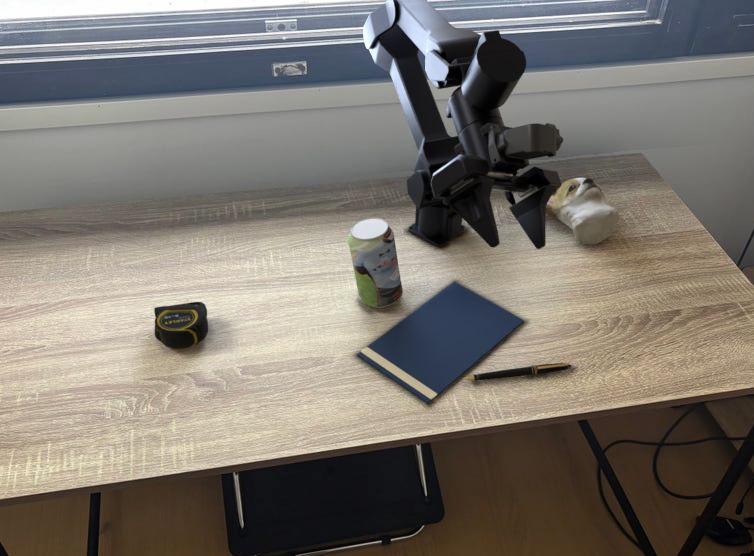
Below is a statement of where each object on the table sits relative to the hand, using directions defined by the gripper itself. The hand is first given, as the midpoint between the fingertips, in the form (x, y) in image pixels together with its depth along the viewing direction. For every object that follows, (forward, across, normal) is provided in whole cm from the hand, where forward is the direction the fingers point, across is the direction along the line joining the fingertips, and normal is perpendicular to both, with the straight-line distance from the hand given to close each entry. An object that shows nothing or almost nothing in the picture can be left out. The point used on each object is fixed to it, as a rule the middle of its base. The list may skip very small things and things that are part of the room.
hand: (519, 246), depth 87 cm
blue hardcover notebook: (+6, -1, +15) cm, 17 cm away
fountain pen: (+14, +2, +8) cm, 16 cm away
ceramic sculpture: (-8, +30, +8) cm, 32 cm away
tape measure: (-4, -25, +38) cm, 45 cm away
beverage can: (-2, -3, +23) cm, 23 cm away
